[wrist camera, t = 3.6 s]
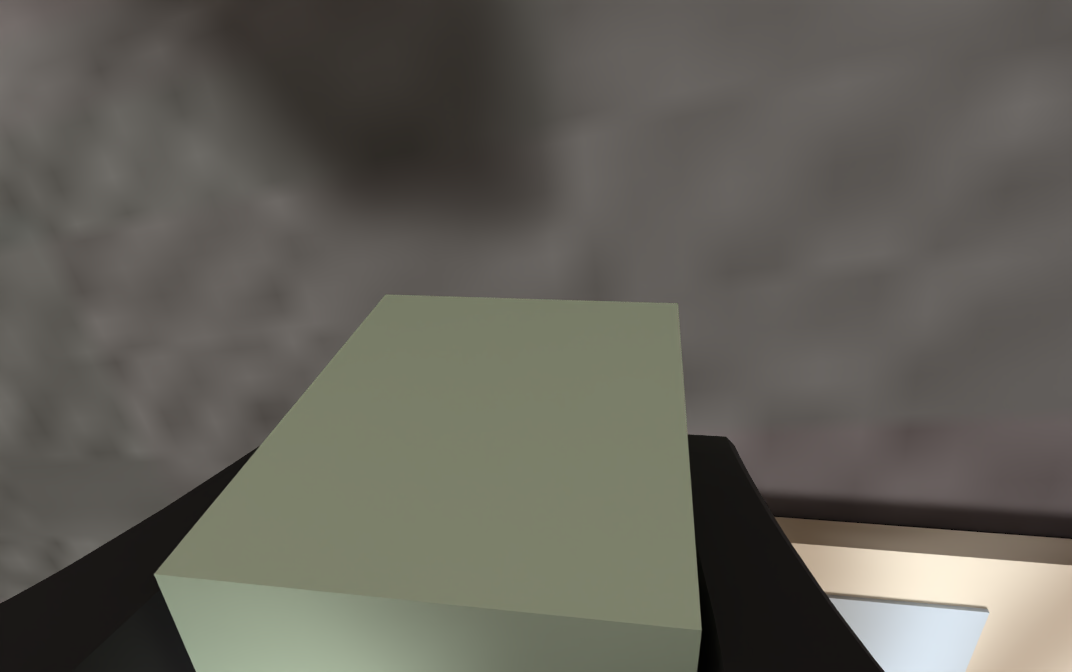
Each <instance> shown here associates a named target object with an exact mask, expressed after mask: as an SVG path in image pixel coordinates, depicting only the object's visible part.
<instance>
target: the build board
mask: <svg viewBox="0 0 1072 672" xmlns="http://www.w3.org/2000/svg"><path fill="white" fill-rule="evenodd" d="M775 519H776V520H777V522H778V524H779V525H780V527H781V528H782V530H783V531H784V533H785V535H786V536H787V538H788V539H789V541H790V542H791V544H792V545H793V547H794V548H795V550H796V551H797V553H798V554H799V555H800V557H801V558H802V560H803V561H804V563H805V564H806V566H807V567H808V569H809V570H810V572H811V573H812V575H813V576H814V578H815V579H816V580H817V582H818V583H819V585H820V586H821V588H822V589H823V591H824V592H825V593H826V595H827V596H828V597H829V599H830V600H831V602H832V603H833V604H834V606H835V607H836V609H837V610H838V611H839V613H840V614H841V615H842V617H843V618H844V619H845V621H846V622H847V623H848V625H849V626H850V627H851V629H852V630H853V631H854V633H855V634H856V635H857V637H858V638H859V639H860V640H861V642H862V643H863V644H864V646H865V647H866V648H867V650H868V651H869V652H870V654H871V655H872V656H873V658H874V659H875V660H876V661H877V663H878V664H879V665H880V666H881V668H882V669H883V670H884V671H885V672H1072V539H1064V538H1050V537H1037V536H1024V535H1010V534H997V533H984V532H970V531H957V530H944V529H930V528H917V527H904V526H890V525H877V524H864V523H850V522H837V521H824V520H810V519H797V518H784V517H775Z"/></svg>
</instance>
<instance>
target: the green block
mask: <svg viewBox="0 0 1072 672" xmlns="http://www.w3.org/2000/svg"><path fill="white" fill-rule="evenodd" d="M154 576H155V578H156V580H157V583H158V585H159V587H160V590H161V592H162V594H163V596H164V599H165V601H166V603H167V606H168V608H169V610H170V613H171V615H172V617H173V620H174V622H175V624H176V627H177V629H178V631H179V634H180V636H181V638H182V641H183V643H184V645H185V648H186V650H187V652H188V654H189V657H190V659H191V661H192V664H193V666H194V668H195V671H196V672H697V667H698V658H699V650H700V641H701V632H702V627H701V613H700V600H699V586H698V572H697V558H696V545H695V531H694V517H693V503H692V490H691V476H690V462H689V449H688V435H687V421H686V407H685V394H684V380H683V366H682V352H681V339H680V325H679V311H678V303H646V302H613V301H580V300H547V299H514V298H481V297H448V296H415V295H385V296H384V297H383V298H382V300H381V301H380V302H379V303H378V304H377V306H376V307H375V308H374V309H373V310H372V312H371V313H370V314H369V315H368V316H367V318H366V319H365V320H364V321H363V322H362V324H361V325H360V326H359V327H358V329H357V330H356V331H355V332H354V333H353V335H352V336H351V337H350V338H349V339H348V341H347V342H346V343H345V344H344V345H343V347H342V348H341V349H340V350H339V351H338V353H337V354H336V355H335V356H334V357H333V359H332V360H331V361H330V362H329V364H328V365H327V366H326V367H325V368H324V370H323V371H322V372H321V373H320V374H319V376H318V377H317V378H316V379H315V380H314V382H313V383H312V384H311V385H310V386H309V388H308V389H307V390H306V391H305V392H304V394H303V395H302V396H301V397H300V398H299V400H298V401H297V402H296V403H295V405H294V406H293V407H292V408H291V409H290V411H289V412H288V413H287V414H286V415H285V417H284V418H283V419H282V420H281V421H280V423H279V424H278V425H277V426H276V427H275V429H274V430H273V431H272V432H271V433H270V435H269V436H268V437H267V438H266V440H265V441H264V442H263V443H262V444H261V446H260V447H259V448H258V449H257V450H256V452H255V453H254V454H253V455H252V456H251V458H250V459H249V460H248V461H247V462H246V464H245V465H244V466H243V467H242V468H241V470H240V471H239V472H238V473H237V475H236V476H235V477H234V478H233V479H232V481H231V482H230V483H229V484H228V485H227V487H226V488H225V489H224V490H223V491H222V493H221V494H220V495H219V496H218V497H217V499H216V500H215V501H214V502H213V503H212V505H211V506H210V507H209V508H208V510H207V511H206V512H205V513H204V514H203V516H202V517H201V518H200V519H199V520H198V522H197V523H196V524H195V525H194V526H193V528H192V529H191V530H190V531H189V532H188V534H187V535H186V536H185V537H184V538H183V540H182V541H181V542H180V543H179V544H178V546H177V547H176V548H175V549H174V551H173V552H172V553H171V554H170V555H169V557H168V558H167V559H166V560H165V561H164V563H163V564H162V565H161V566H160V567H159V569H158V570H157V571H156V572H155V573H154Z"/></svg>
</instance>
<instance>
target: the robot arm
mask: <svg viewBox="0 0 1072 672" xmlns="http://www.w3.org/2000/svg"><path fill="white" fill-rule="evenodd" d="M260 446H261V445H260ZM260 446H259V447H260ZM259 447H257V448H256V449H254V450H253V451H251V452H250V453H248V454H247V455H245V456H244V457H242V458H241V459H239V460H238V461H236V462H235V463H233V464H232V465H230V466H228V467H227V468H225V469H224V470H222V471H221V472H219V473H218V474H216V475H215V476H213V477H212V478H210V479H208V480H207V481H205V482H204V483H202V484H201V485H199V486H198V487H196V488H195V489H193V490H192V491H190V492H188V493H187V494H185V495H184V496H182V497H181V498H179V499H178V500H176V501H175V502H173V503H171V504H170V505H168V506H167V507H165V508H164V509H162V510H160V511H159V512H157V513H155V514H154V515H152V516H151V517H149V518H147V519H146V520H144V521H142V522H141V523H139V524H137V525H136V526H134V527H132V528H131V529H129V530H127V531H126V532H124V533H122V534H121V535H119V536H117V537H116V538H114V539H112V540H111V541H109V542H107V543H106V544H104V545H103V546H101V547H99V548H98V549H96V550H94V551H93V552H91V553H89V554H88V555H86V556H84V557H83V558H81V559H79V560H78V561H76V562H74V563H73V564H71V565H69V566H68V567H66V568H64V569H62V570H61V571H59V572H57V573H55V574H53V575H52V576H50V577H48V578H46V579H45V580H43V581H41V582H39V583H37V584H36V585H34V586H32V587H30V588H28V589H26V590H25V591H23V592H21V593H19V594H17V595H15V596H14V597H12V598H10V599H8V600H6V601H4V602H2V603H0V672H196V671H195V668H194V666H193V664H192V661H191V659H190V657H189V654H188V652H187V650H186V648H185V645H184V643H183V641H182V638H181V636H180V634H179V631H178V629H177V627H176V624H175V622H174V620H173V617H172V615H171V613H170V610H169V608H168V606H167V603H166V601H165V599H164V596H163V594H162V592H161V590H160V587H159V585H158V583H157V580H156V578H155V576H154V573H155V572H156V571H157V570H158V569H159V567H160V566H161V565H162V564H163V563H164V561H165V560H166V559H167V558H168V557H169V555H170V554H171V553H172V552H173V551H174V549H175V548H176V547H177V546H178V544H179V543H180V542H181V541H182V540H183V538H184V537H185V536H186V535H187V534H188V532H189V531H190V530H191V529H192V528H193V526H194V525H195V524H196V523H197V522H198V520H199V519H200V518H201V517H202V516H203V514H204V513H205V512H206V511H207V510H208V508H209V507H210V506H211V505H212V503H213V502H214V501H215V500H216V499H217V497H218V496H219V495H220V494H221V493H222V491H223V490H224V489H225V488H226V487H227V485H228V484H229V483H230V482H231V481H232V479H233V478H234V477H235V476H236V475H237V473H238V472H239V471H240V470H241V468H242V467H243V466H244V465H245V464H246V462H247V461H248V460H249V459H250V458H251V456H252V455H253V454H254V453H255V452H256V450H257V449H258V448H259ZM688 449H689V462H690V476H691V490H692V503H693V517H694V531H695V545H696V558H697V572H698V586H699V600H700V613H701V627H702V632H701V641H700V650H699V658H698V667H697V672H885V671H884V670H883V669H882V668H881V666H880V665H879V664H878V663H877V661H876V660H875V659H874V658H873V656H872V655H871V654H870V652H869V651H868V650H867V648H866V647H865V646H864V644H863V643H862V642H861V640H860V639H859V638H858V637H857V635H856V634H855V633H854V631H853V630H852V629H851V627H850V626H849V625H848V623H847V622H846V621H845V619H844V618H843V617H842V615H841V614H840V613H839V611H838V610H837V609H836V607H835V606H834V604H833V603H832V602H831V600H830V599H829V597H828V596H827V595H826V593H825V592H824V591H823V589H822V588H821V586H820V585H819V583H818V582H817V580H816V579H815V578H814V576H813V575H812V573H811V572H810V570H809V569H808V567H807V566H806V564H805V563H804V561H803V560H802V558H801V557H800V555H799V554H798V553H797V551H796V550H795V548H794V547H793V545H792V544H791V542H790V541H789V539H788V538H787V536H786V535H785V533H784V531H783V530H782V528H781V527H780V525H779V524H778V522H777V520H776V519H775V517H774V516H773V514H772V512H771V511H770V509H769V507H768V506H767V504H766V502H765V501H764V499H763V497H762V496H761V494H760V492H759V491H758V489H757V487H756V485H755V484H754V482H753V480H752V478H751V477H750V475H749V473H748V471H747V469H746V468H745V466H744V464H743V462H742V460H741V458H740V456H739V454H738V452H737V450H736V448H735V446H734V445H733V444H732V443H731V441H730V440H729V439H728V438H727V437H720V436H704V435H688Z"/></svg>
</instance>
